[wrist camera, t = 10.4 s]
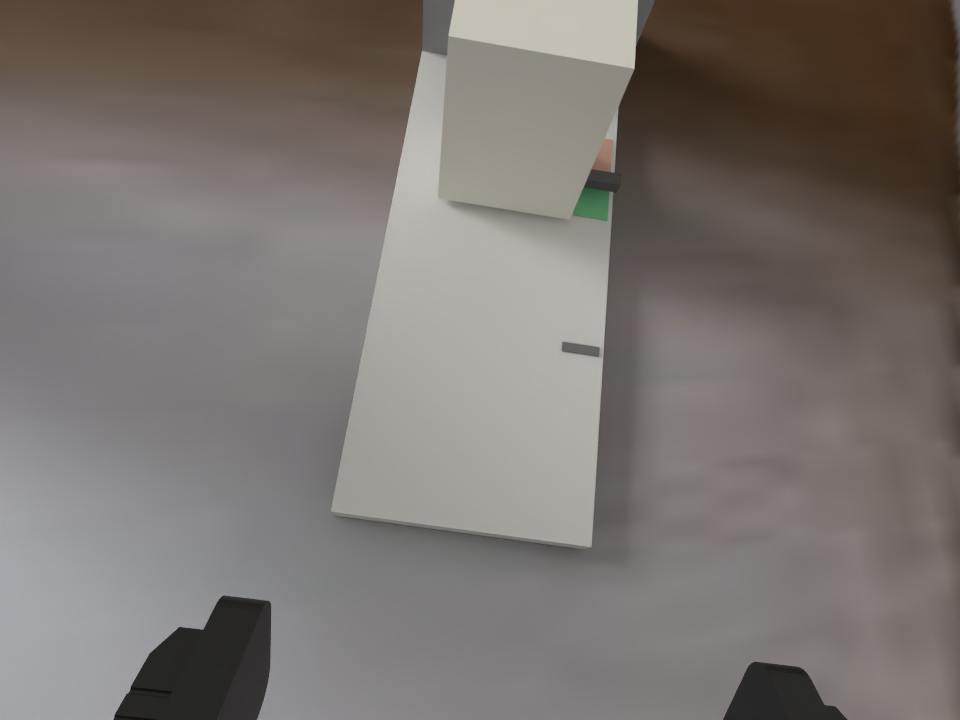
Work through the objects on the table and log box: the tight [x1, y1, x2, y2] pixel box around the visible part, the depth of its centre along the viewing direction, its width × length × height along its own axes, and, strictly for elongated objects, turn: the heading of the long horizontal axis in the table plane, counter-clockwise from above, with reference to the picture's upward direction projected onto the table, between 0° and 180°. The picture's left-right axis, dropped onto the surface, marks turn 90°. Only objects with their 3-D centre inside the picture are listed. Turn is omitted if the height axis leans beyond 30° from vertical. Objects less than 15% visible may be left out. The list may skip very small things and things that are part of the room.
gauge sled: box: [438, 0, 638, 220], centre depth 25 cm, size 8×5×9 cm, turn 83°
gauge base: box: [330, 0, 655, 549], centre depth 25 cm, size 10×28×12 cm, turn 173°
